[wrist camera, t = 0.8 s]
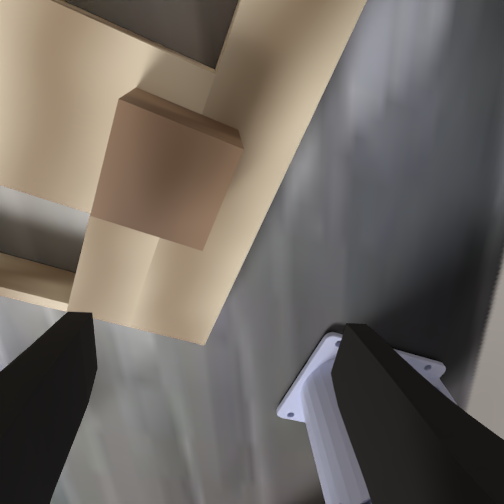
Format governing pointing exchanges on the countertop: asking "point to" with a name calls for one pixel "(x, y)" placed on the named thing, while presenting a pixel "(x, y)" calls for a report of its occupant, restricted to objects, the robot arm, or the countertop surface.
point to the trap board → (98, 131)
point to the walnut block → (165, 169)
